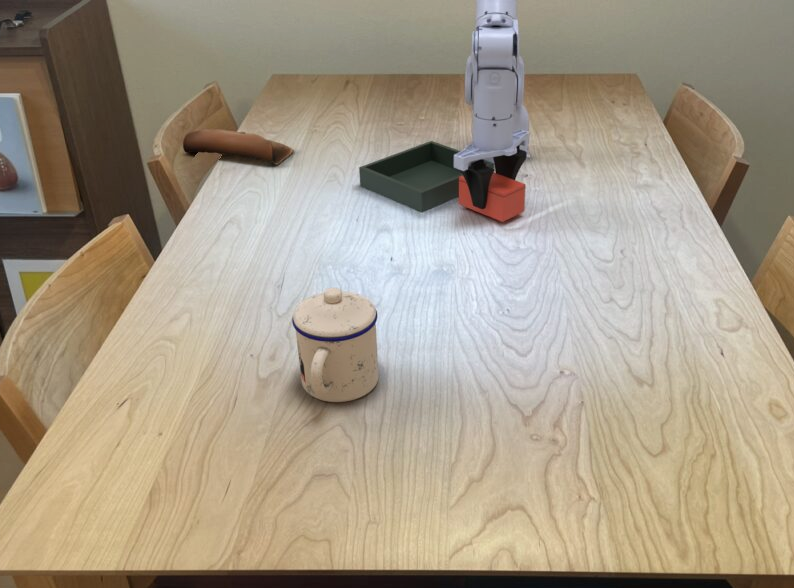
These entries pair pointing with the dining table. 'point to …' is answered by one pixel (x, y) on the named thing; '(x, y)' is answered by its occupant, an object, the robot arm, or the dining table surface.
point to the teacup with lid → (337, 345)
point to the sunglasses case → (236, 145)
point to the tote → (416, 176)
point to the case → (497, 197)
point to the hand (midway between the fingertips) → (491, 201)
